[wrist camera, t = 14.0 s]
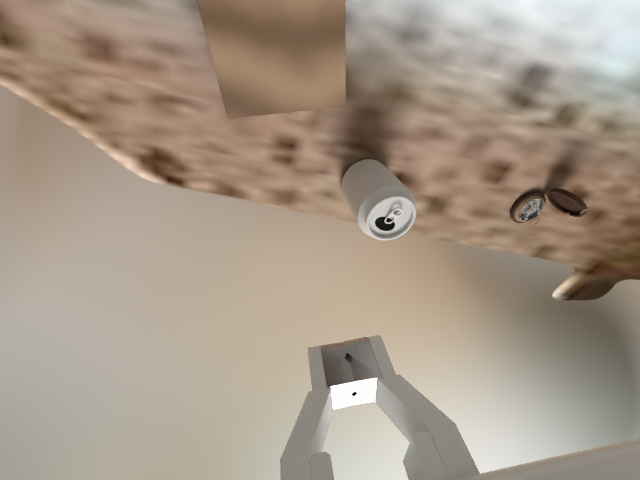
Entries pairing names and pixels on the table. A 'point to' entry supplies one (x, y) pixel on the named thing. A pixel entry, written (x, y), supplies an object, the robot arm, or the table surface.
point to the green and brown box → (277, 54)
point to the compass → (535, 203)
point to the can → (378, 200)
